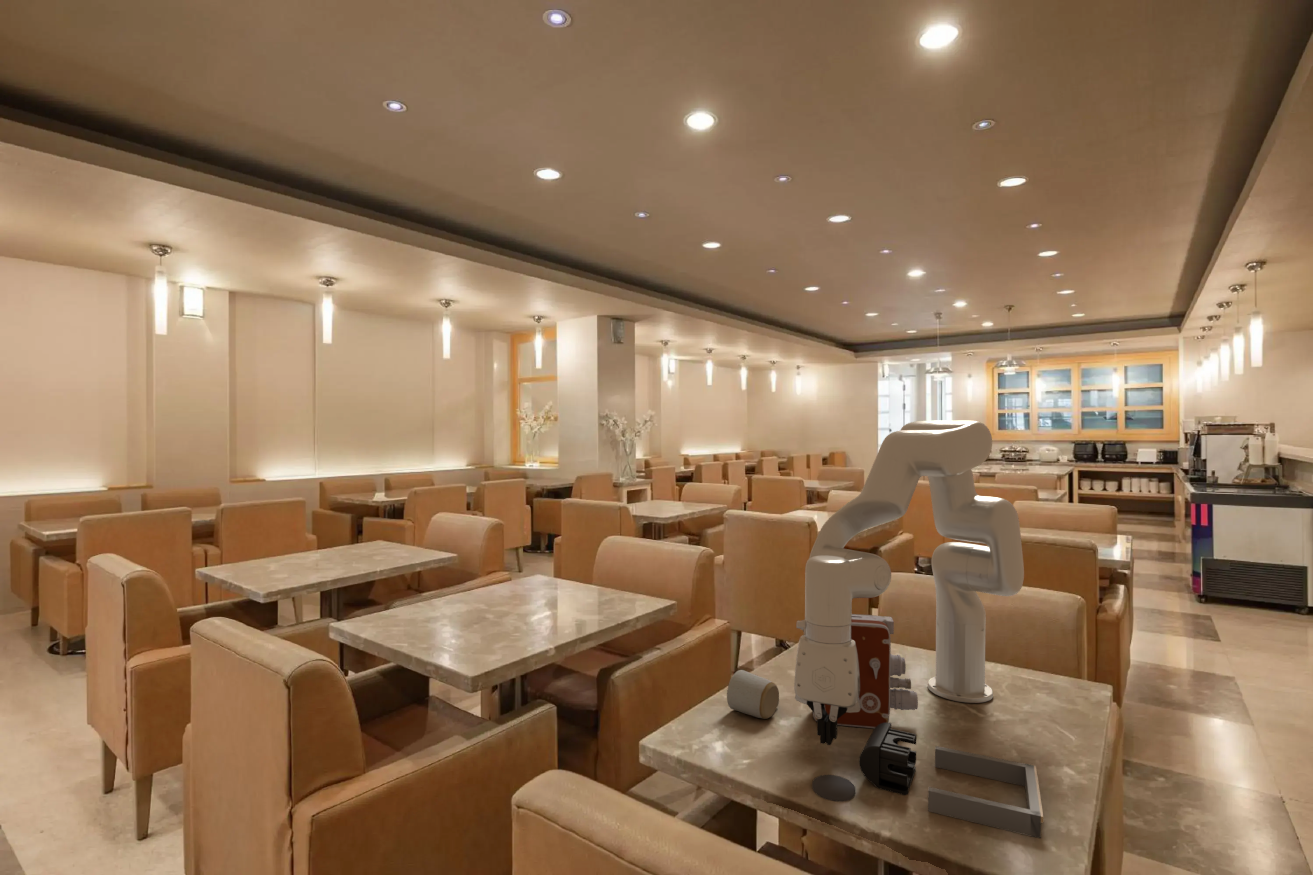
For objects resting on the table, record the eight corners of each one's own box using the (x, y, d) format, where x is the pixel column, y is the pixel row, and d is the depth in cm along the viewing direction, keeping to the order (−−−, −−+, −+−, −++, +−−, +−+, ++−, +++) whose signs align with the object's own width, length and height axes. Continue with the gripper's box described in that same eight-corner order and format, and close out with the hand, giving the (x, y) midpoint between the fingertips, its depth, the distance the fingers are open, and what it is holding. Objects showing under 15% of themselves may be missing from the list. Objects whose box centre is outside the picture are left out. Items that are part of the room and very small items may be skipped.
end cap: (872, 757, 113) (872, 718, 112) (916, 768, 109) (916, 727, 109) (858, 785, 104) (858, 742, 104) (906, 797, 100) (906, 753, 100)
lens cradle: (935, 763, 110) (935, 745, 110) (1035, 784, 104) (1035, 765, 104) (928, 811, 97) (928, 790, 97) (1043, 838, 90) (1043, 816, 90)
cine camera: (921, 736, 120) (922, 626, 120) (811, 726, 124) (812, 620, 124) (912, 715, 129) (913, 613, 129) (810, 706, 133) (810, 607, 133)
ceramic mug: (762, 726, 124) (763, 685, 124) (725, 714, 129) (726, 674, 129) (789, 708, 132) (789, 670, 133) (753, 698, 138) (753, 661, 138)
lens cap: (817, 777, 107) (817, 771, 107) (858, 786, 104) (858, 780, 104) (807, 796, 101) (808, 790, 101) (851, 807, 98) (851, 800, 98)
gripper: (777, 631, 111) (777, 740, 111) (871, 644, 104) (870, 761, 104) (789, 619, 117) (789, 723, 117) (878, 631, 111) (877, 741, 111)
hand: (827, 740), depth 111 cm, fingers closed
